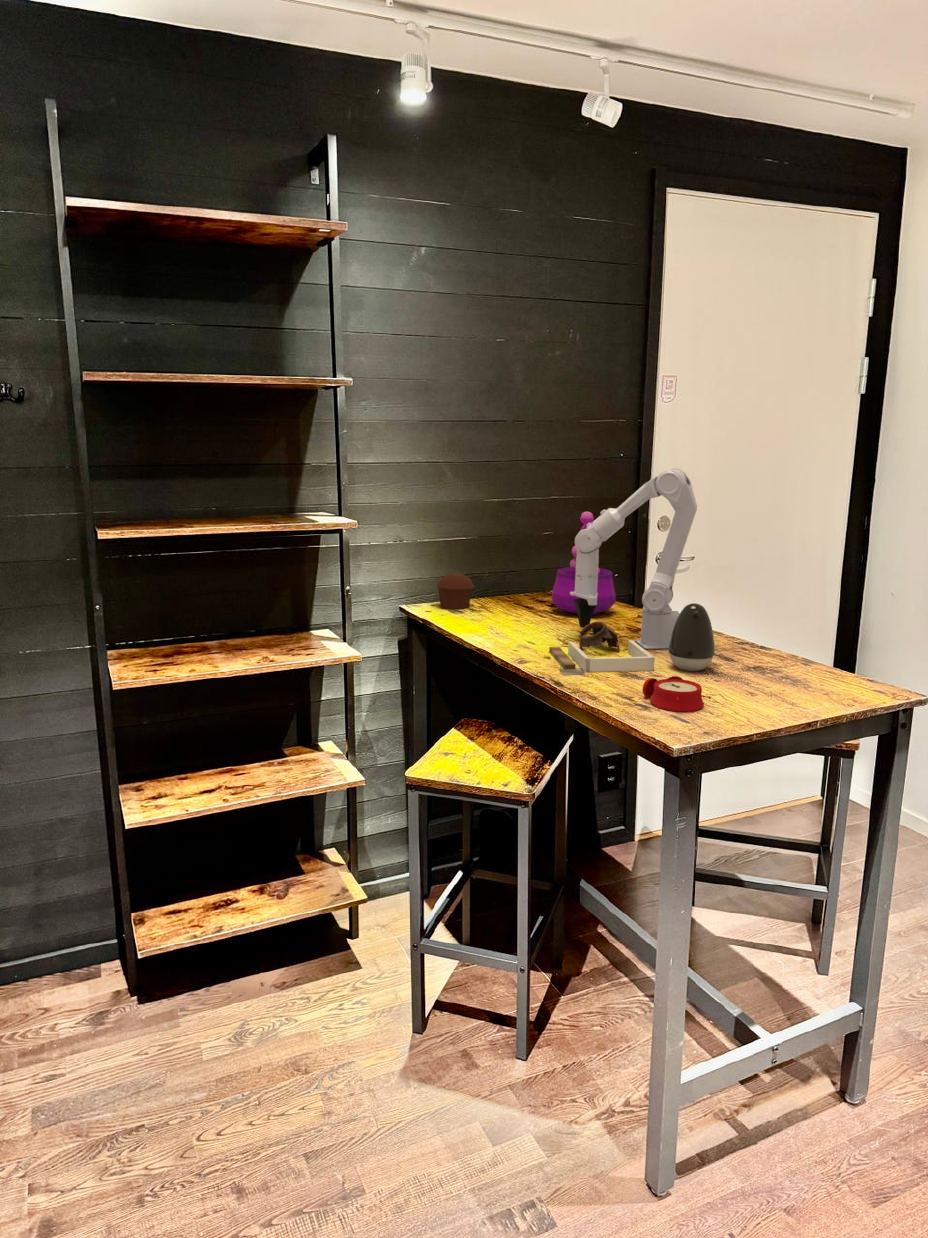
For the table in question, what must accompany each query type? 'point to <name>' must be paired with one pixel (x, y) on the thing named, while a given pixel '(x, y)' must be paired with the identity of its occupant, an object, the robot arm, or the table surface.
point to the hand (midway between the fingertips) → (584, 626)
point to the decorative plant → (567, 582)
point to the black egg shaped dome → (692, 639)
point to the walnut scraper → (565, 662)
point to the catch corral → (614, 660)
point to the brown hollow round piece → (598, 635)
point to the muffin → (455, 591)
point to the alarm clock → (674, 694)
